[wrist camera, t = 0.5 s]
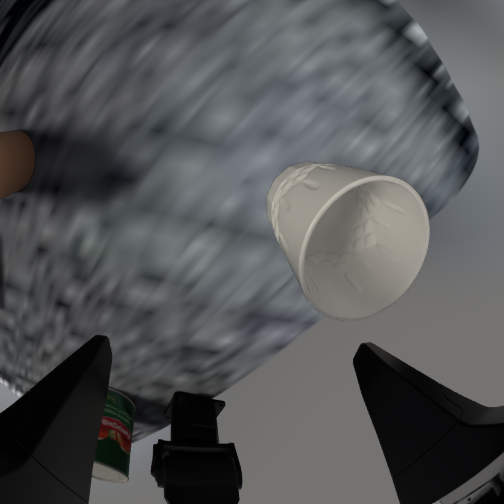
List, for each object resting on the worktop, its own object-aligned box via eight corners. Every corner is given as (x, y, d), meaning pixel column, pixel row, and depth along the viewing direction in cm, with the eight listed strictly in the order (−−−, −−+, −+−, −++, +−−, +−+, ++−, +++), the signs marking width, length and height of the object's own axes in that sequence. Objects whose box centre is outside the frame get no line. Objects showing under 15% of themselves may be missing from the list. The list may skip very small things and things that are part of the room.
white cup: (324, 259, 24) (383, 330, 15) (242, 231, 21) (270, 305, 13) (363, 179, 21) (448, 215, 12) (283, 137, 19) (348, 144, 10)
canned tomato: (140, 396, 28) (132, 473, 18) (132, 422, 30) (126, 487, 21) (80, 375, 26) (59, 449, 16) (80, 405, 28) (66, 468, 18)
